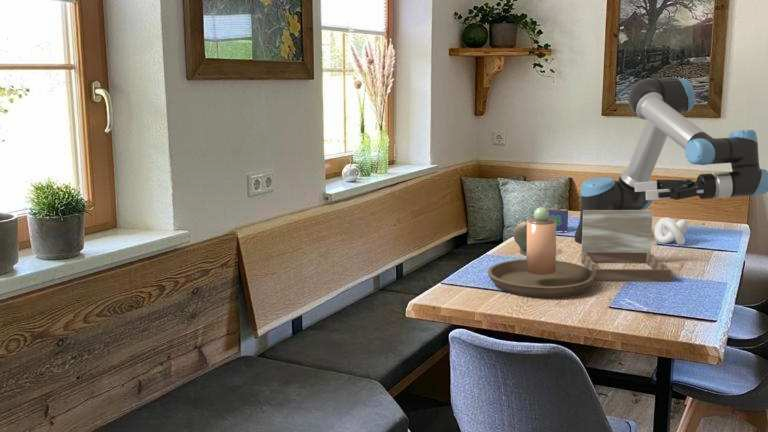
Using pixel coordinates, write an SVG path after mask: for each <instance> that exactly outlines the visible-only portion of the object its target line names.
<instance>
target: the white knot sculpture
mask: <svg viewBox="0 0 768 432" xmlns="http://www.w3.org/2000/svg"><path fill="white" fill-rule="evenodd" d="M688 227H689V221H688V220H686V219H684V218H683V219H679V220H678V221H677V222H676V221H675V220H674V219H673V218H672V217H666V216H665V217H661V218H660V219H659V220H657V222H656V223H655V225H654V230H653V236H654V238H655V241H657V242H658V243H660V244H662V245H666V244H668V243H671V242H676V243H677V245H680V246H682V245H684V244H685V242H686V238H685V237H684V235H685V233H686V231H687V230H688Z"/></svg>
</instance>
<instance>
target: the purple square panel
mask: <svg viewBox="0 0 768 432" xmlns="http://www.w3.org/2000/svg"><path fill="white" fill-rule="evenodd" d="M545 208H546V207H545ZM546 209H547V210H548V211H549V217H550V218H553V219H555V220H556V231H567V232H568V231H569V229H568V228H569V227H568V226H569V225H568V224H569V220H568V218H569V217H568V216H569V210H568V209H566V208H564V209H560V208H559V204H554V207H548V208H546Z"/></svg>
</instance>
